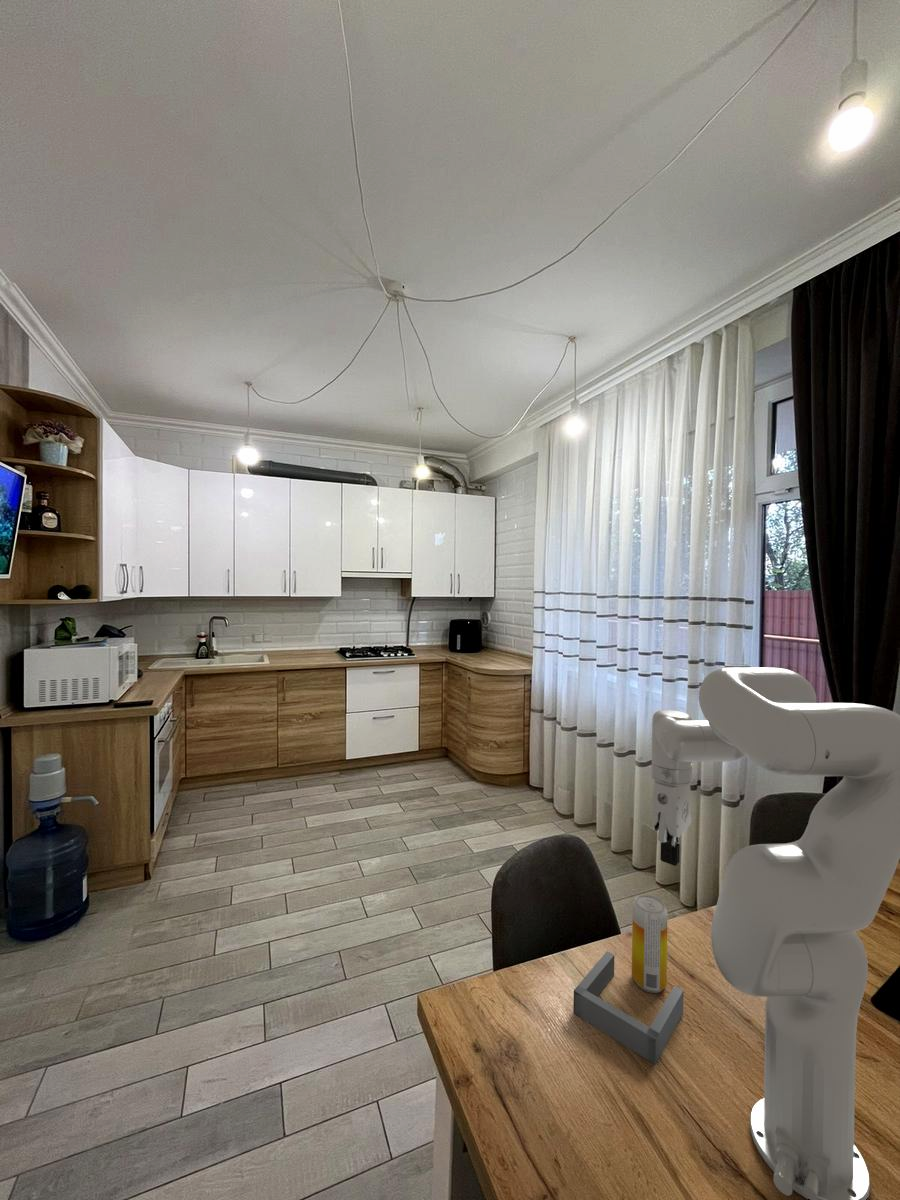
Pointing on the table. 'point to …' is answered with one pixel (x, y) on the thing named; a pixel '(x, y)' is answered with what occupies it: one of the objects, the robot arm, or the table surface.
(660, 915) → the beer can
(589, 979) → the corral
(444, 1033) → the table surface
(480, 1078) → the table surface
